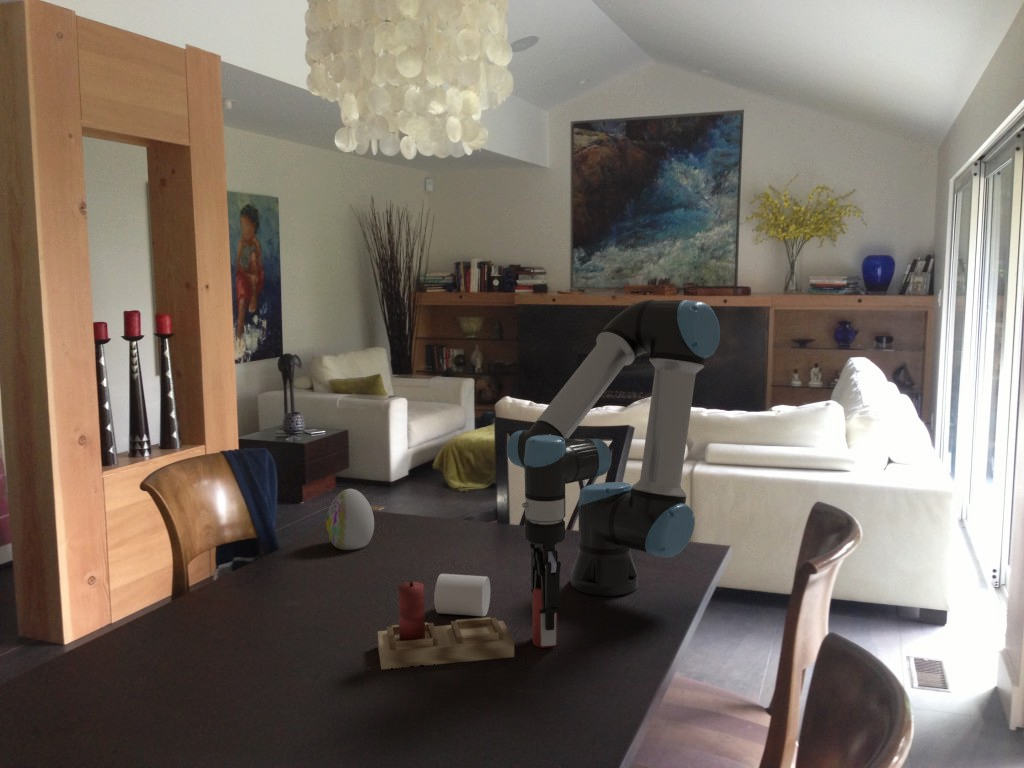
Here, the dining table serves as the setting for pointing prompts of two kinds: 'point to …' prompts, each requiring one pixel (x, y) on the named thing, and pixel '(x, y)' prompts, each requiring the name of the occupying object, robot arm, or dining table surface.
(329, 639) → the dining table surface
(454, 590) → the mug
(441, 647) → the oak candlestand
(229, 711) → the dining table surface
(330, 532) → the decorative egg
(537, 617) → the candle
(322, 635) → the dining table surface
